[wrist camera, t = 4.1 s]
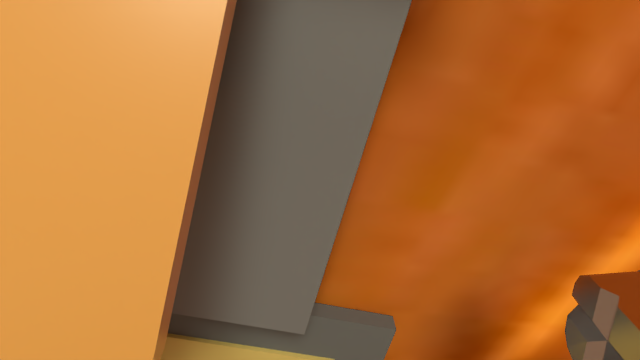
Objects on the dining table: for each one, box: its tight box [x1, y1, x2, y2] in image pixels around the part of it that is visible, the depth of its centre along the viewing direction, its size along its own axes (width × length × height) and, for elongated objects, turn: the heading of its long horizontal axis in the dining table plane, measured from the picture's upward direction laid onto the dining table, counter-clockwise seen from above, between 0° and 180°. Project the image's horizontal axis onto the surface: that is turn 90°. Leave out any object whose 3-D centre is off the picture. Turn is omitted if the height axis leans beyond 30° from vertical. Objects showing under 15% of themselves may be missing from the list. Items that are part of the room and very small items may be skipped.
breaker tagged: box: [0, 0, 237, 360], centre depth 7 cm, size 8×3×2 cm, turn 165°
